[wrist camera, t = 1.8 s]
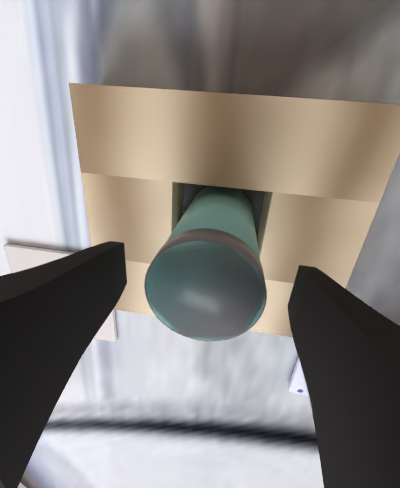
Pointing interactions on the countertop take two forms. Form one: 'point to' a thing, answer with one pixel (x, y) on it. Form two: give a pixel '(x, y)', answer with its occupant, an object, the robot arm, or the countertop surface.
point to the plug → (209, 269)
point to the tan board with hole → (234, 176)
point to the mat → (34, 257)
